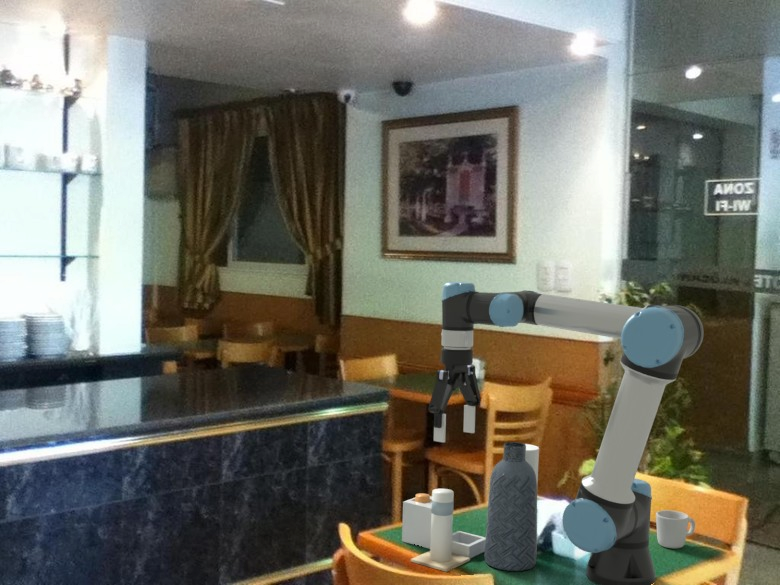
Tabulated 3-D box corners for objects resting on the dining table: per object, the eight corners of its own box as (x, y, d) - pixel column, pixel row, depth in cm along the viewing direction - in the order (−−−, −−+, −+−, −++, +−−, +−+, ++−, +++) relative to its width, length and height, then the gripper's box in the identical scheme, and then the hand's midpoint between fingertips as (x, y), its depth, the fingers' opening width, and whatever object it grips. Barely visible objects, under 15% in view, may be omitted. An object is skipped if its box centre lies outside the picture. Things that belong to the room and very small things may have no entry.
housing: (488, 549, 232) (489, 509, 232) (468, 559, 225) (469, 517, 224) (422, 532, 244) (423, 494, 243) (401, 541, 237) (403, 501, 236)
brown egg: (431, 518, 239) (432, 495, 238) (423, 522, 236) (424, 498, 235) (420, 515, 241) (421, 492, 240) (411, 519, 238) (412, 495, 237)
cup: (683, 538, 246) (684, 508, 245) (703, 548, 238) (705, 517, 238) (648, 542, 242) (649, 511, 242) (667, 552, 235) (668, 520, 234)
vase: (521, 576, 215) (526, 452, 213) (474, 564, 222) (479, 444, 220) (545, 562, 225) (550, 444, 223) (499, 550, 232) (504, 436, 230)
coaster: (469, 560, 224) (470, 558, 224) (446, 571, 216) (446, 569, 216) (434, 551, 230) (434, 548, 230) (410, 561, 222) (410, 559, 222)
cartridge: (455, 558, 224) (458, 491, 223) (443, 563, 219) (446, 495, 218) (437, 553, 227) (440, 487, 226) (425, 558, 223) (427, 491, 222)
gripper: (469, 342, 236) (467, 426, 238) (414, 350, 216) (412, 443, 217) (496, 344, 232) (493, 430, 233) (442, 353, 212) (440, 447, 213)
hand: (454, 436), depth 225 cm, fingers open, 13 cm apart
